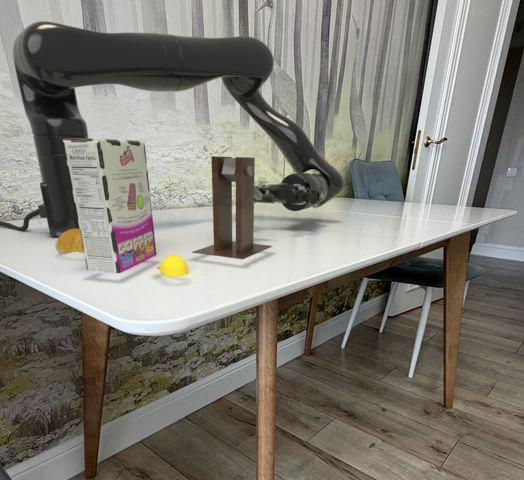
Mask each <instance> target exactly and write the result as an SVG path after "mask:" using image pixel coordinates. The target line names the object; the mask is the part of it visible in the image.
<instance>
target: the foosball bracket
mask: <svg viewBox="0 0 524 480" xmlns="http://www.w3.org/2000/svg"><path fill="white" fill-rule="evenodd" d="M210 158H211V159H210V161H211V189H212V191H211V193H212V222H213V223H212V225H213V229H212V230H213V244H212V245H209V246H206V247H203V248H199V249H196V250H194V251H192V252H191V253H192V254H200V255H206V256H213V257H214V256H215V257H220V258H221V257H222V258H223V257H224V258H229V259H237V260H245V259H247V258H250V257H252V256H254V255H257V254H259V253H261V252H263V251H266V250H269V249H270V248H272V247H273V245H269V244H261V243H254V239H255V238H254V229H255V227H254V226H255V202H254V186H255V172H256V171H255V167H256V165H255V164H256V163H255V161H256V158H255V157H252V156H251V157H250V156H247V157H245V156H236V157H235V158H236V182H235V240H233V182H230V181H229V180H228V179H227V178H225V177H224V176H223V175H222V169H223V164H224V159H225V158H233V157H232V156H211V157H210Z"/></svg>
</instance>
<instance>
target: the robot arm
mask: <svg viewBox="0 0 524 480" xmlns="http://www.w3.org/2000/svg"><path fill="white" fill-rule="evenodd" d="M12 59H13V64H14V65H13V66H14V70H15V74H16V79H17V83H18V88H19V92H20V96H21V100H22V106H23V109H24V113H25V115H26V118H27V120H28V123H29V126H30V129H31V134H32V138H33V143H34V147H35V152H36V157H37V163H38V168H39V172H40V177H41V182H40V183H39V189H40V192H41V193H40V194H41V197H42V202H43V203H41V204H38V205H37V209H34V210H33V211H30V212H28V213H27V214H26V215H25V217H24V219H23V224H22V226H17V225H15V224H12V223H10V222H6V221H0V227H6V228H8V229H11V230H14V231H18V232H25V231H27V230H28V229H29V227H30V220H31V219H33V218H34V217H38V216H39V218H41V219H46V220H47V225H48V226H47V227H48V232H49V235H50V237H56V238H57V237H58V238H59V237H60V236H61V235H62V234H63V233H64V232H66V231H67V230H70V229H80V228H79V223H78V217H77V212H76V206H75V202H74V197H73V192H72V186H71V181H70V176H69V170H68V165H67V159H66V155H65V149H64V144H63V139H70V138H89V131H88V125H87V122H86V120H85V118H84V117H83V116H82V114H81V111H80V109H79V105H78V99H77V93H76V88H81V87H82V88H83V87H89V86H101V85H119V86H124V87H128V88H132V89H136V90H140V91H145V92H152V93H153V92H154V93H178V92H184V91H189V90H191V89H195V88H197V87H200V86H202V85H205V84H207V83H209V82H212V81H214V80H217V79H220V78H221V81H222V84H223V85H224V88H225V89H226V90H227V92H228V94H230V96H231V97H232V98H233V99H234V100H235V102H237V104H238V105H239V106H240V107H241V108H242V109H243V110H244V111H245V112H246V113H247V114H248V115H249V116H250V118H251V119H252V120H253V121H254V122H255V123H257V125H258V126H259V127H260V128H261V129H262V130H263V132H265V134H266V135H267V136H268V137H269V138H270V139H271V140H272V142H273V143H274V144H275V146H276V147H277V148H278V149H279V151H280V152H281V154H282V155H283V157H284V158H285V160H286V162H287V163H288V164H289V165H290V167H291V169H292V170H293V171H294V173H290V174H288V175H286V176H285V177H284V178H283V179H282V180H281V182H279V183H267V184H263V185H262V184H261V185H254V186H255V187H256V188H257V189H258V190H259V191H260V192H261V193H262V194H270V195H275V202H274V203H278V204H281V205H282V206H283V207H284V208H285V209H287V210H288V211H291V212H299V211H303V210H307V209H310V208H313V209H319V208H321V207H322V206H324V205H326V204H327V203H328V202H329V201H331V200H333V199H334V198H335V197H337V196H339V194H341V193H342V192H343V191H344V190H345V179H344V176H343V175H342V173H341V172H340V171H339V170H338V169H337V168H335V167H334V166H333V165H331V163H329V162H328V161H327V160H326V159H325V158H324V157H323V156H322V155H321V154H320V152H319V151H318V150H317V149H316V147H315V146H314V144H313V143H312V141H311V139H310V138H309V137H308V135H307V134H306V132H305V130H304V129H302V127H301V126H300V125H299V124H297V123H296V122H295V121H293V119H290V118H289V117H287V116H285V115H284V114H282V113H280V112H278V110H276V109H274V108H273V107H272V106H271V105H270V104H269V103H268V102H267V101H266V99H265V98H264V97H263V94H262V93H261V92H260V89H261V88H262V86H264V84H265V83H266V82H267V81H268V79H269V78H270V76H271V75H272V73H273V70H274V66H275V65H274V64H275V63H274V61H275V60H274V56H273V52H272V51H271V49H270V47H268V45H267V44H265V42H263V41H262V40H261V39H259V38H256V37H253V36H246V35H243V36H228V37H202V36H185V35H175V34H169V33H158V32H157V33H156V32H127V31H125V32H103V31H95V30H90V29H84V28H80V27H76V26H72V25H66V24H62V23H58V22H53V21H47V20H46V21H44V20H43V21H42V20H41V21H40V20H39V21H36V22H32V23H31V24H29V25H27V26H26V27H25V28H24V29H23V30H22V31H21V32H20V33H18V35H17V36H16V38H15V39H14V42H13V46H12ZM310 171H317V172H318V173H309V172H310Z"/></svg>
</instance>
